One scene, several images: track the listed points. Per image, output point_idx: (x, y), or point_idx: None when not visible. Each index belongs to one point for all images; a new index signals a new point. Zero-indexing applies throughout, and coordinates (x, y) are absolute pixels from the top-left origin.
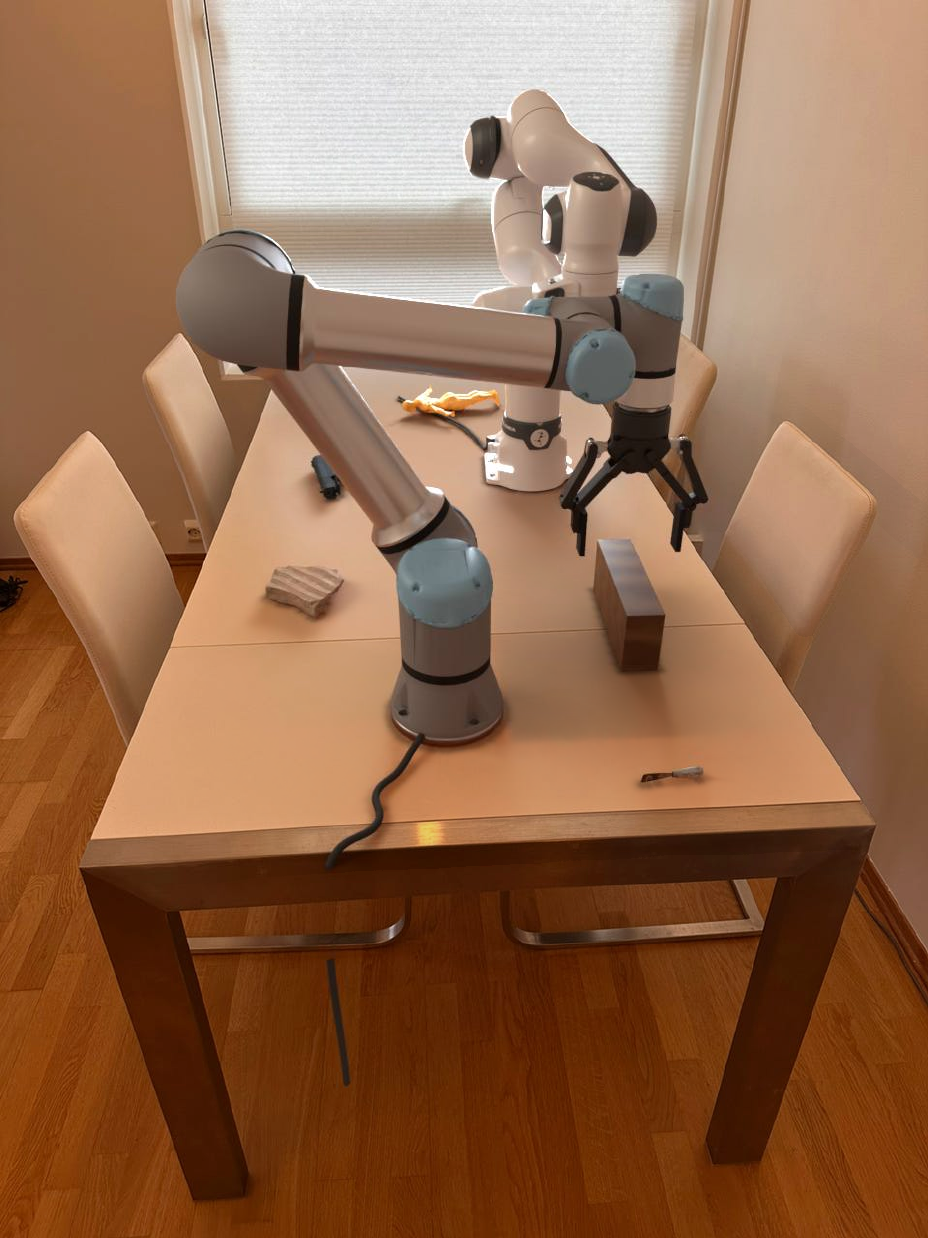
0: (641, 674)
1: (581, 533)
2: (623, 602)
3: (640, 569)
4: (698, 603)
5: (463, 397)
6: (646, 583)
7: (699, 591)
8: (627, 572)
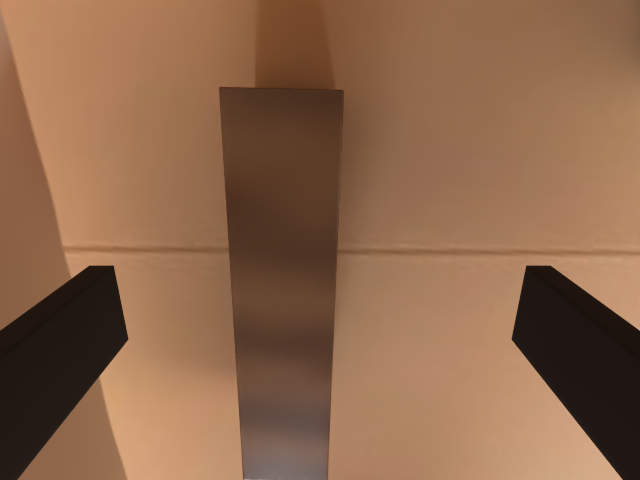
0: (294, 76)
1: (635, 331)
2: (335, 174)
3: (246, 344)
4: (129, 323)
5: None
6: (243, 274)
7: (121, 362)
8: (285, 333)
